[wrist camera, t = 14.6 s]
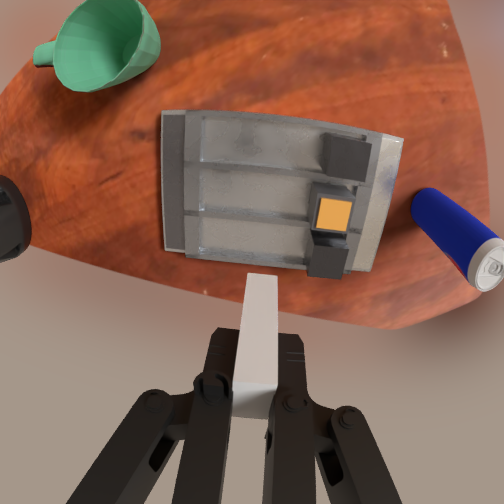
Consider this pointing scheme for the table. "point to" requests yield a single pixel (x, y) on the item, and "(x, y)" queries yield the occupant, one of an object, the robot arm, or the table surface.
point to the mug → (101, 45)
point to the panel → (272, 188)
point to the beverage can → (460, 238)
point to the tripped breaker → (330, 208)
